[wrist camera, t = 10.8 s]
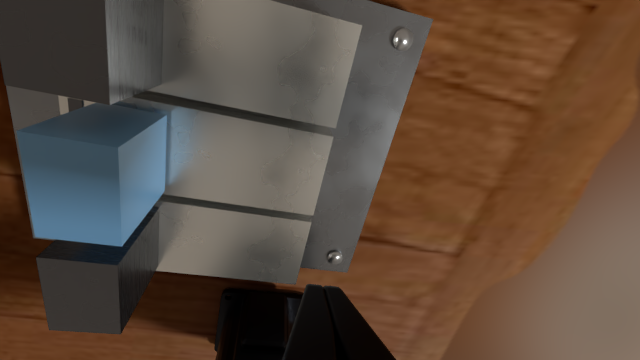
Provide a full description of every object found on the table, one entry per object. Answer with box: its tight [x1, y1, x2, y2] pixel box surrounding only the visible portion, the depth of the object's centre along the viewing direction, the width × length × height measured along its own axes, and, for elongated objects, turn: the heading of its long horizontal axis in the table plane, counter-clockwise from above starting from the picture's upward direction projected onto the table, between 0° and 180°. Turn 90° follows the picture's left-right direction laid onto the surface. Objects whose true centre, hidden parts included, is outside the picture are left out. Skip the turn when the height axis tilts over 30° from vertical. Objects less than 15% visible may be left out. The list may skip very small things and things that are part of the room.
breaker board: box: [0, 0, 433, 334], centre depth 14 cm, size 16×19×8 cm
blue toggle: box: [16, 103, 167, 247], centre depth 11 cm, size 4×2×4 cm
